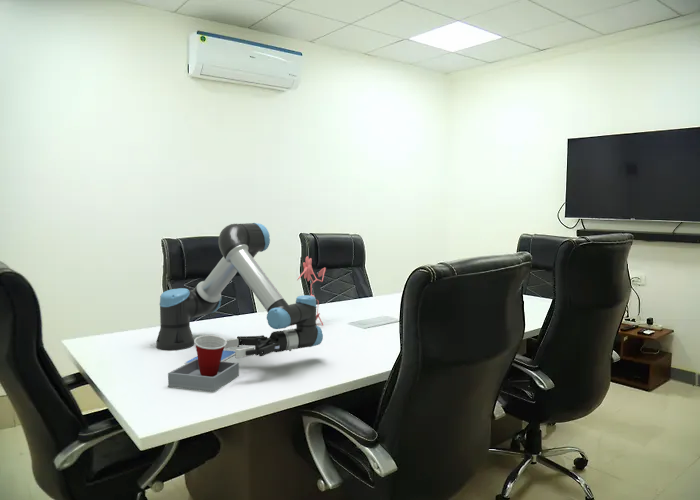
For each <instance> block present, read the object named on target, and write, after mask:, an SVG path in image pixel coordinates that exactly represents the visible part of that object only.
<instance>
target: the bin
mask: <svg viewBox="0 0 700 500" xmlns="http://www.w3.org/2000/svg"><path fill="white" fill-rule="evenodd" d="M239 366H240V365H239V362H235V361H234V362H233V361H220V365H219V369H218V373H217V374H216V375H215V376H211V377H209V376H202V375H201V374H200V369H199V364H198V359H195V360H193V361H191V362H189V363H187V364H185V363H184V365H181V366H179V367H177V368H176V369H173V370H171V371H170V372H168V373H167V377H168V378H167V382H168V383H167V385H168V386H167V387H168V388H176V389H177V388H179V389H185V390H193V391H194V390H195V391H203V392H211V393H215V392H217V391H218V390H220V389H221V388H223V386H225V385H227V384H229V383H230V382H231V381H233V380H234V379H235V378H238V376H239V375H240V373H239V371H240V369H239V368H240V367H239Z"/></svg>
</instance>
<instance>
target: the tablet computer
mask: <svg viewBox="0 0 700 500" xmlns="http://www.w3.org/2000/svg"><path fill="white" fill-rule="evenodd" d="M234 356H235V350H226V349H225V350H223V353H222V357H221V361H224V362H226V360H228V359H230V358H231V357H234ZM195 359H198V356H197V355H196V356H195V357H193V358H191V359H189V360H187V361H185V362H184V365H185V364H187V363H189V362H191V361H193V360H195Z"/></svg>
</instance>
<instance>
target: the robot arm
mask: <svg viewBox="0 0 700 500" xmlns="http://www.w3.org/2000/svg"><path fill="white" fill-rule="evenodd" d="M270 242H271V239H270V233H269V230H268V228H267V227H266V226H265V225H263V224H261V223H257V222H251V223H249V222H248V223H247V222H246V223H230V224H228V225H226V226H225V227H223V229H222V230H221V232H220V233H219V236H218V247H219V251H220V254H221V255H222V258H221V259H220V260H219V261H218V262H217V264H216V265H215V267H213V269H212V270H211V272H210V273H209V274H208V276H207V277H206V278H205V280H202V281H200V282H198V284H197V285H196V286H195V287H194V288H193V289H191V290H189V289H188V288H184V287H183V288H182V287H180V288H178V287H177V288H172V289H168V290H165V291H163V292H162V293H161V295H160V297H159V314H160V315H159V317H160V319H159V322H160V324H159V325H160V329H159V332H158V336H157V338H156V341H155V342H156V343H155V344H156V345H155V346H156V348H157V349H159V350H165V351H166V350H167V351H175V350H176V351H177V350H178V351H179V350H184V349H188V348H191V347H193V346H194V345H195V343H194V340H195V338H194V336H193V332H192V329H191V327H190V322H191V321H190V319H192V318H196V317H201V316H208V315H211V314H214V313H215V312H217V311H218V310H219V309H220V308H221V304H222V302H221V301H222V292H223V290H225V288H226V287H227V285H228V284H229V283H230V282H231V281H232V280H233V278H234V277H235V276H236V274H237V273H238V274H239V276H241V278H242V279H243V281H244V282H245V284H246V285H247V286H248V288H249V289H250V290H251V291H252V293H253V295H255V297H256V299H257V300H258V301H259V302H260V304H261V305H262V307H263V308H264V309H265V311H266V312H267V314H266V320H267V324H268V326H269V328H272V329H274V330H275V331H272V332H271V333H270V336H269V337H268V336H265V335H249V336H246V335H245V336H237V337H236V338H232V339H225V340H226V341H227V344H226V345H225V347H224V349H229V348H235V347H237V348H238V349H235V350H234V351H235V355H234V356H235V358H236V359H239V358H245V357H251V356H258V357H264V356H266V355H269V354H272V353H280V352H286V351H289V352H291V351H293V350H298V349H305V348H312V347H316V346H318V345H321V343H322V342H323V340H324V339H323V338H324V333H323V330H322V328H321V327H320V326H319V325H317V320H316V315H317V309H318V306H317V299H316V297H314V296H315V295H314V296H310V295H309V294H307V295H305V294H303V295H299V296H297V297H296V298H295V303H292V304H288V302H287V301H286V299H284V297H283V296H282V295H281V293H280V291H278V289H277V288H276V287H275V285H274V284H273V282H272V281H271V280H270V278H269V277H268V276H267V274H266V273H265V272H264V270H263V269H262V267H260V265H259V264H258V262H257V261H256V259H254V258H255V257H256V255H257V254H258V253H261V252H265V251H266V250H268V248H269V246H270ZM292 326H295V327H296V328H289V329H286V328H288V327H292ZM280 329H283V330H280ZM240 346H248V347H244V348H239V347H240ZM249 346H251V347H249Z"/></svg>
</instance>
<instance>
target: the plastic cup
mask: <svg viewBox="0 0 700 500" xmlns="http://www.w3.org/2000/svg"><path fill="white" fill-rule="evenodd" d="M226 340H227V339H225V338H224V337H221V336H219V335H215V334H214V335H211V334H206V335H205V334H204V335H200V336H197V337H195V338H194V345H195V349H196V354H197V355H196V357H197V356H198V364H199V369H200V374H201V375H202V376H209V377H211V376H215V375H216V374H217V373H218V369H219V365H220V361H221V357H222V353H223V350H224V349H225V348H224V347H225V345H226V344H227V341H226Z"/></svg>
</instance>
